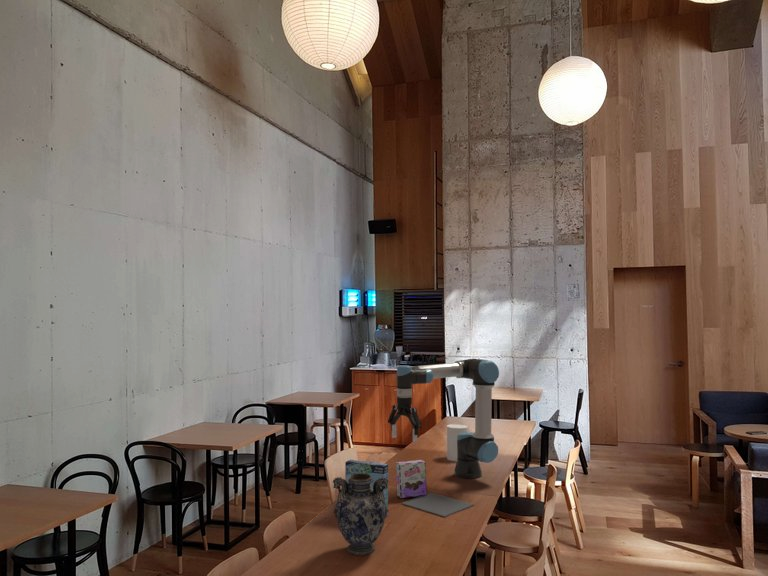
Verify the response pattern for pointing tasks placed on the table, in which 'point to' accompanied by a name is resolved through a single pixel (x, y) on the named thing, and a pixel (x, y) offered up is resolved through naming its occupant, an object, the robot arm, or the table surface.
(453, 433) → the canister
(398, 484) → the candy box
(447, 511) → the rubber mat
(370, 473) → the blue cardboard box
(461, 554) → the table surface
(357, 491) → the decorative vase
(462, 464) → the robot arm
